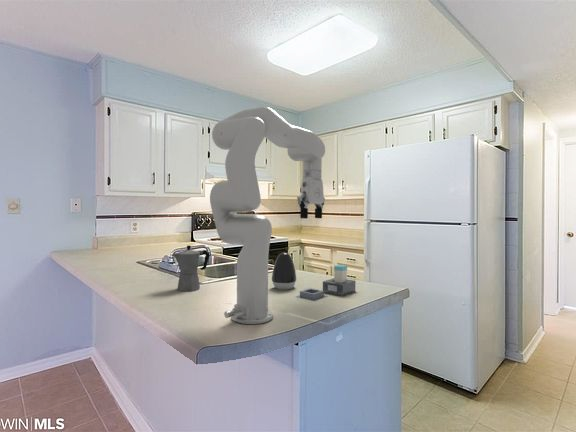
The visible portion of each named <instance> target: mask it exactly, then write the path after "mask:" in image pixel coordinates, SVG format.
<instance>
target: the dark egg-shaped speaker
mask: <svg viewBox="0 0 576 432" xmlns="http://www.w3.org/2000/svg"><path fill="white" fill-rule="evenodd" d="M295 267H296V266H295V263H294V260H293V259H292V256H291V255H290V254H289V253H288V252H281V253H279V254H278V256H277V257H276V259H275V261H274V265H273V268H272V273H271V274H272V275H271V282H272V284H273V286H274V288H275V289H276V290H282V291H283V290H284V291H285V290H290V289H293V288H294V287H295V285H296V282H297V272H296V268H295Z"/></svg>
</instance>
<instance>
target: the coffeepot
mask: <svg viewBox="0 0 576 432" xmlns="http://www.w3.org/2000/svg"><path fill="white" fill-rule="evenodd" d="M191 247H192V245H189V244H188V245H186V250H181V251H178V252H176V253H173V254H172V257H174V259H175V260H176V262H177V264H178V268H179V270H180V271H179V275H178V282H177V288H176V289H177V291H179V292H184V293H185V292H188V293H190V292H195V291H199V290H200V288H201V284H200V279H199V273H198V268H199V262H200V256H205V257H204V261H203V265H202V267H200V270H201V271H203V270H206V268H207V266H208V262H209V259H210V257H211V254H210V253H209V252H208V250H206V249H203V250H193V249H191Z"/></svg>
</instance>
